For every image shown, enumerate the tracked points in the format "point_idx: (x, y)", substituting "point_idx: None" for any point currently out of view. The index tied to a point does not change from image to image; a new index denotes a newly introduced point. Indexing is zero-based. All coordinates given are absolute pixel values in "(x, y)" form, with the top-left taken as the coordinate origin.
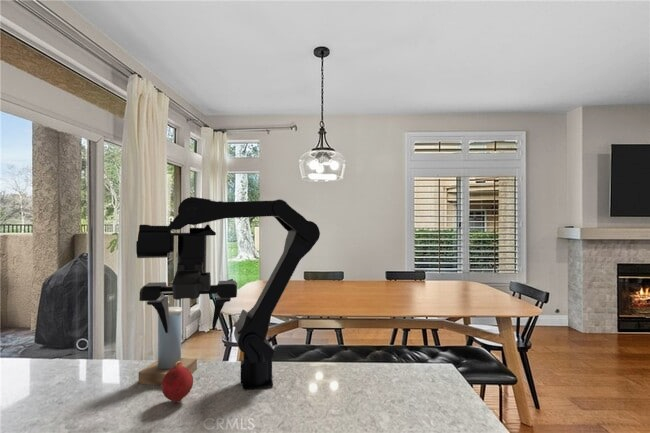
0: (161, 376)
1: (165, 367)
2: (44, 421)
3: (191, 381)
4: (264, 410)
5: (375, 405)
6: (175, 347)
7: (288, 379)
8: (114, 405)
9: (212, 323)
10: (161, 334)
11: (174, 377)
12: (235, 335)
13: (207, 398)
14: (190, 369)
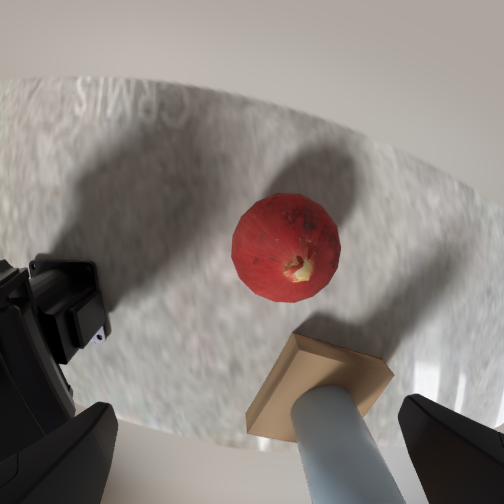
0: (338, 357)
1: (333, 388)
2: (498, 225)
3: (235, 233)
4: (50, 144)
5: None
6: (319, 437)
7: None
8: (420, 258)
9: (89, 431)
10: (380, 463)
11: (301, 212)
12: (48, 394)
13: (189, 238)
14: (260, 399)
